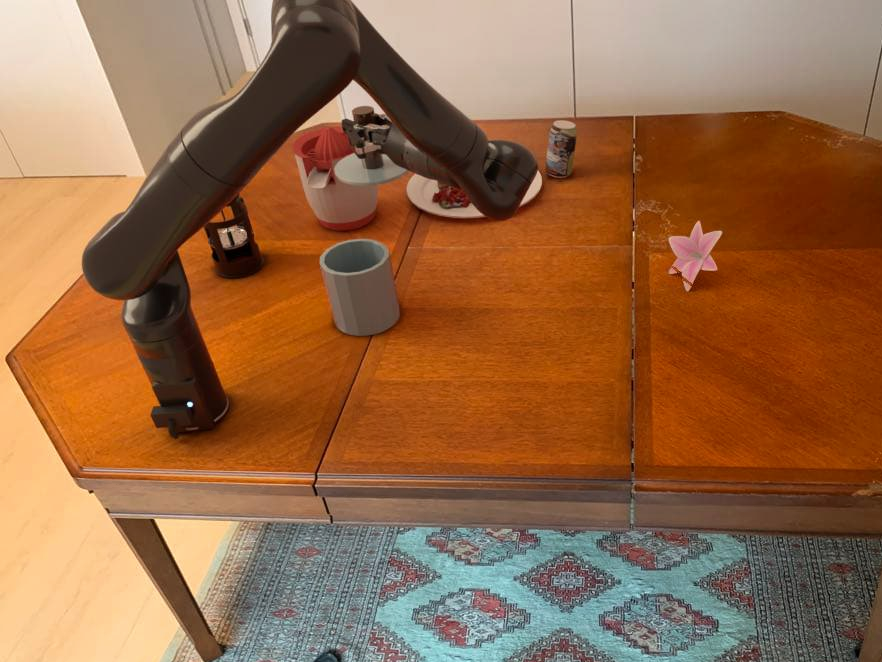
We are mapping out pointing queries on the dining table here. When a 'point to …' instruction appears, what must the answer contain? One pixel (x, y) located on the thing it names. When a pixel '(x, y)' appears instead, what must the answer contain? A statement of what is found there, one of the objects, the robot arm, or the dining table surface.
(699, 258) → the lily
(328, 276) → the grey cup
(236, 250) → the french press
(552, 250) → the dining table surface
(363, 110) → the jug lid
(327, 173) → the citrus juicer
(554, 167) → the beverage can
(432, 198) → the plated food
